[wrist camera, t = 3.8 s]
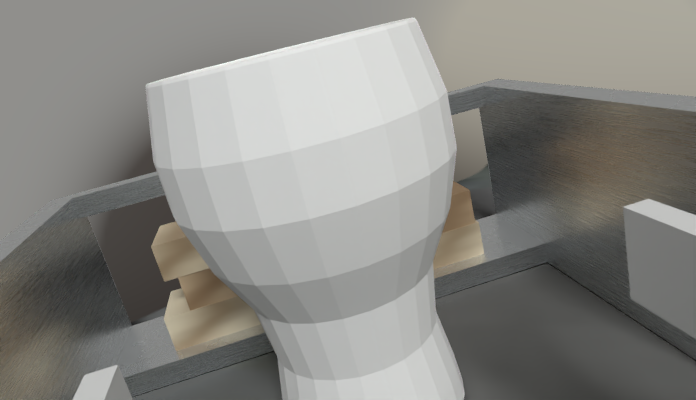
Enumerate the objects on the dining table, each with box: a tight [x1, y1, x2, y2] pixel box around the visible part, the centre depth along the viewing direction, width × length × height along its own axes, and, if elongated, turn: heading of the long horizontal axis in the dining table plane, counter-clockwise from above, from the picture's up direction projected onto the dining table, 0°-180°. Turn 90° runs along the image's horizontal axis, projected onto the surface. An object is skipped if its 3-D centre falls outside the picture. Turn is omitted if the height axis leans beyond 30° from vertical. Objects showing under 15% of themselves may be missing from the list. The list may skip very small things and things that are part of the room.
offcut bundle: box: [151, 181, 484, 351], centre depth 31 cm, size 18×4×6 cm, turn 102°
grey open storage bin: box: [0, 79, 696, 400], centre depth 25 cm, size 28×18×10 cm, turn 102°
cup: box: [146, 18, 465, 400], centre depth 21 cm, size 11×11×15 cm
